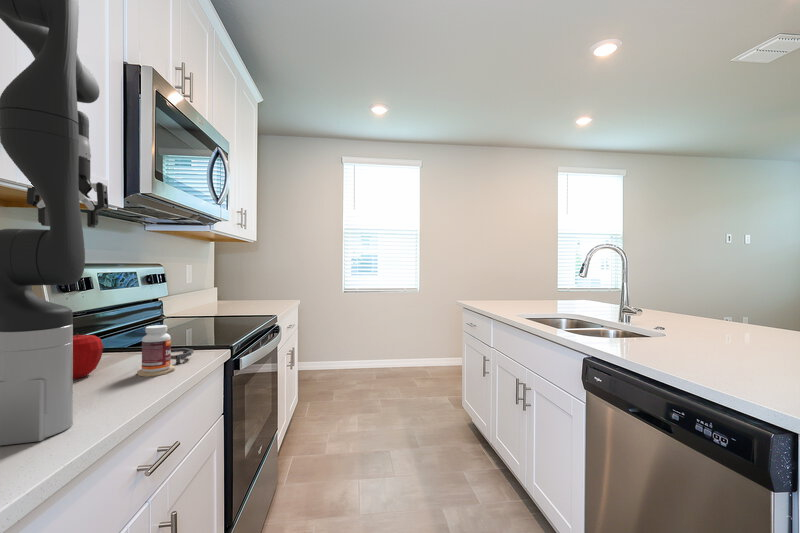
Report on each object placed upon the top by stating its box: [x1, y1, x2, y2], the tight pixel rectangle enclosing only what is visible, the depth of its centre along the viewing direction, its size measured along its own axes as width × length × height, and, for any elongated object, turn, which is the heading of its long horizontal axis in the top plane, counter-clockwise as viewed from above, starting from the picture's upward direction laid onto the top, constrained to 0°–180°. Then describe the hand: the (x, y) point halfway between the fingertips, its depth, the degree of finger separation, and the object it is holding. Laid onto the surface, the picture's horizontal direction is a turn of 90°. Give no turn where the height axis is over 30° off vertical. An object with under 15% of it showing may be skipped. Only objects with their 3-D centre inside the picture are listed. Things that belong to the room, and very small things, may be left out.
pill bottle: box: [141, 324, 172, 372], centre depth 94 cm, size 6×6×11 cm
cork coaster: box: [136, 365, 176, 377], centre depth 94 cm, size 8×8×1 cm
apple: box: [73, 332, 104, 380], centre depth 90 cm, size 10×10×11 cm
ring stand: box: [171, 347, 195, 365], centre depth 105 cm, size 10×10×2 cm
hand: (69, 226), depth 85 cm, fingers open, 8 cm apart
